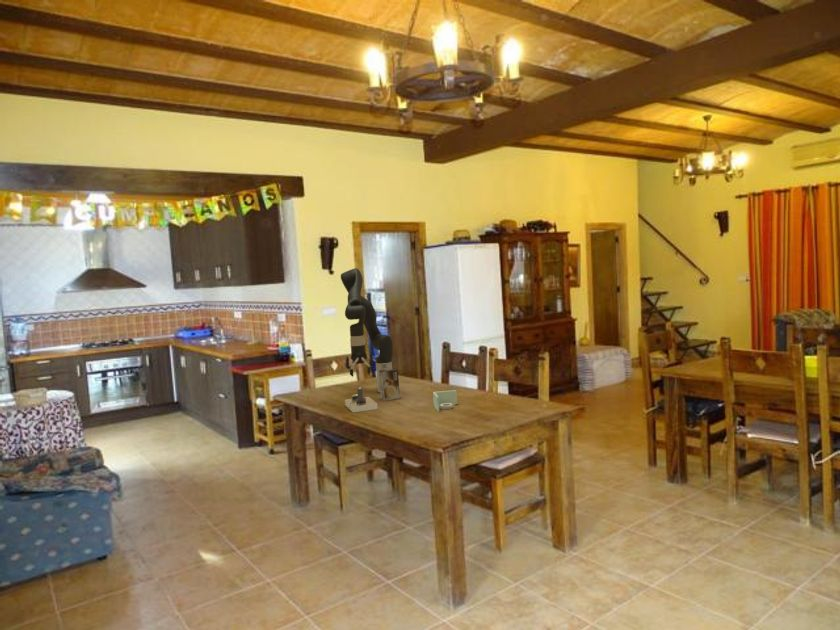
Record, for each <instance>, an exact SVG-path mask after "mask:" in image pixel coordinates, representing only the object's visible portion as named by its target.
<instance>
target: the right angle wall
mask: <svg viewBox="0 0 840 630" xmlns="http://www.w3.org/2000/svg"><path fill="white" fill-rule="evenodd" d="M457 392H458V391H457V390H456V389H454V390H441V391H433V392H432V394H433V395H432V398H433V400H432V401H433V407H434V409H435V410H436V411H437V413H438V412H440V410H444V411H445V410H446V411H448V410H452V409H451V408H454V406H455V404H457V405H458V393H457Z"/></svg>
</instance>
